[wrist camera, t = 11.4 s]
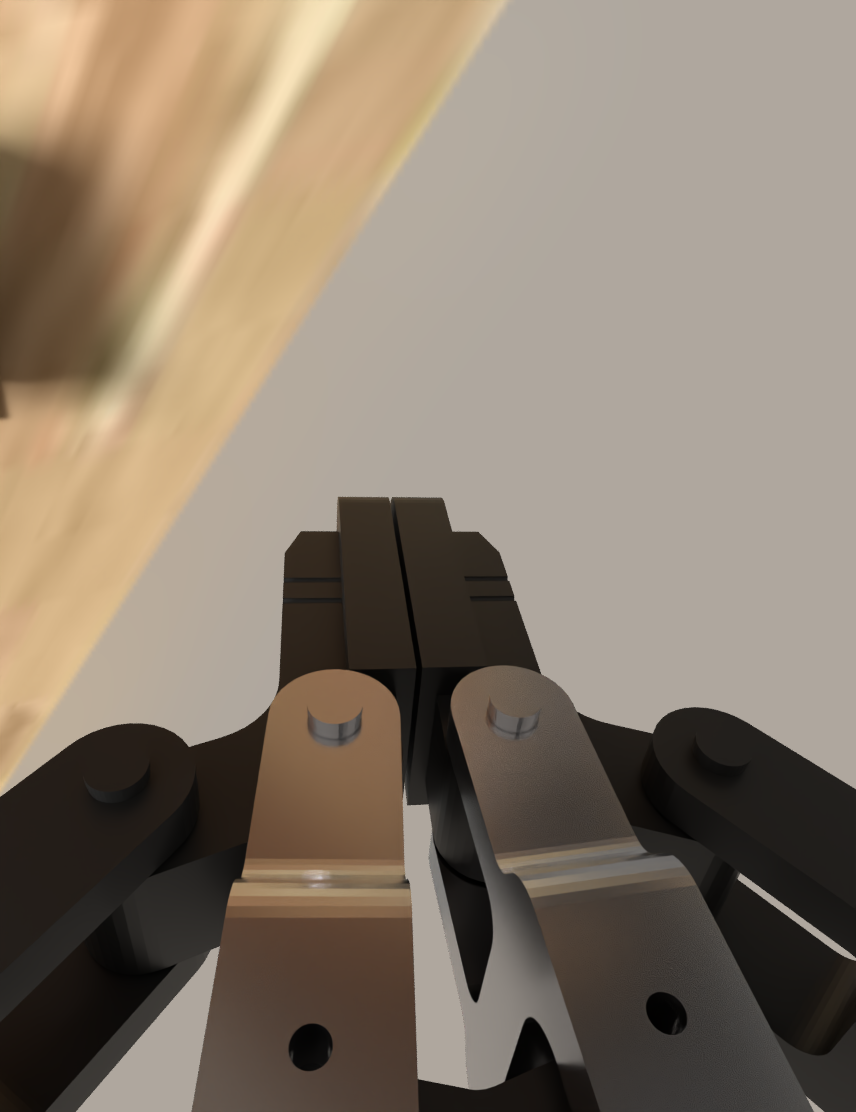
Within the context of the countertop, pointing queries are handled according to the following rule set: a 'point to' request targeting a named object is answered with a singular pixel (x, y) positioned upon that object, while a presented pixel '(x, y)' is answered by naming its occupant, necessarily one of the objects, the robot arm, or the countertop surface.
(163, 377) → the countertop surface
